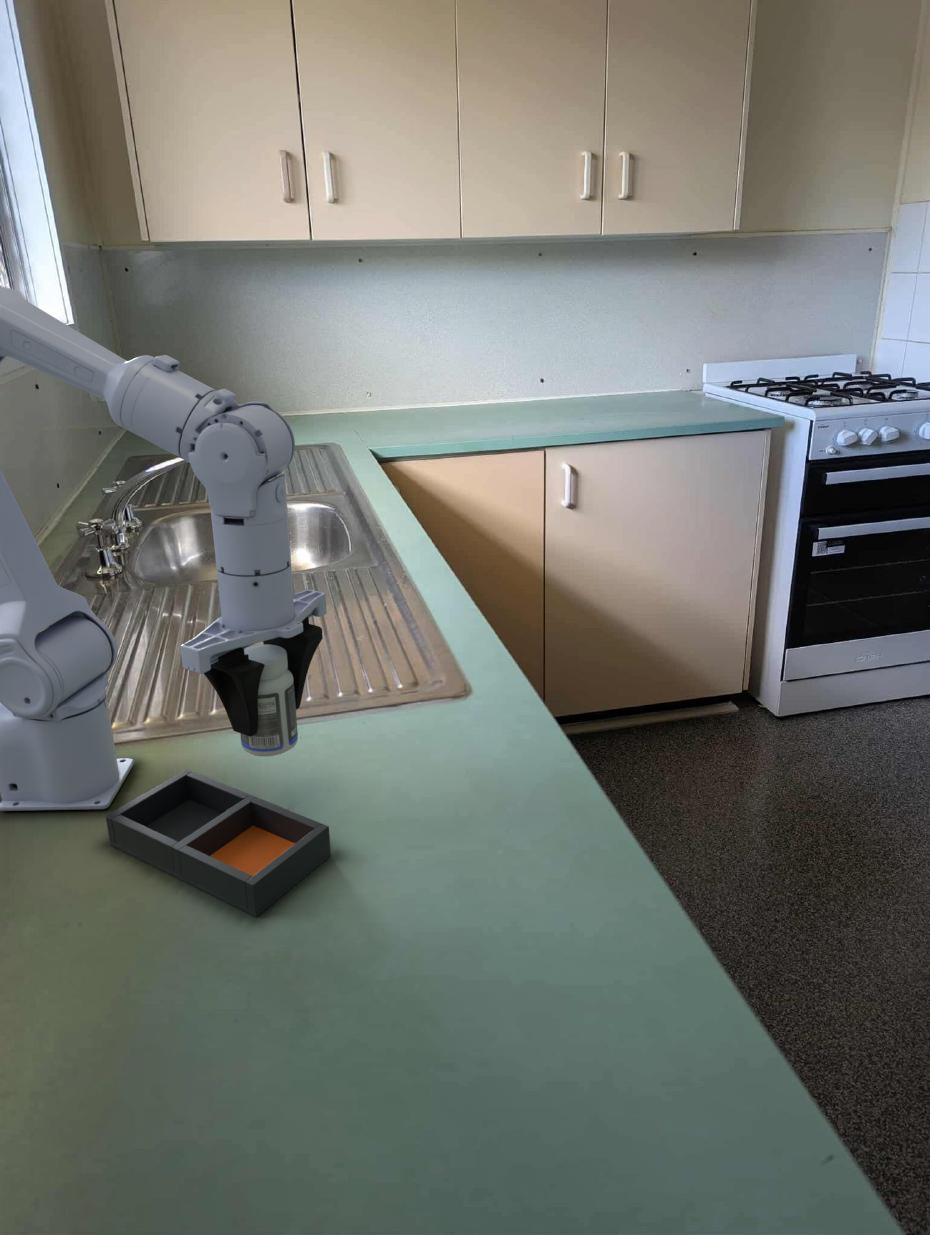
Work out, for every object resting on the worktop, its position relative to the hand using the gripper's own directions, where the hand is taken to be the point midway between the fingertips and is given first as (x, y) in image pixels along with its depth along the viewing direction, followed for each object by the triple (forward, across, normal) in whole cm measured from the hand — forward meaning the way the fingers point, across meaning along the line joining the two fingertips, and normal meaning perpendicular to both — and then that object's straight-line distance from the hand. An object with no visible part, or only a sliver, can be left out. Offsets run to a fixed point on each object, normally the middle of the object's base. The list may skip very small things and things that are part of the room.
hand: (267, 718), depth 73 cm
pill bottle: (+3, 0, 0) cm, 3 cm away
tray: (+9, -6, 0) cm, 11 cm away
